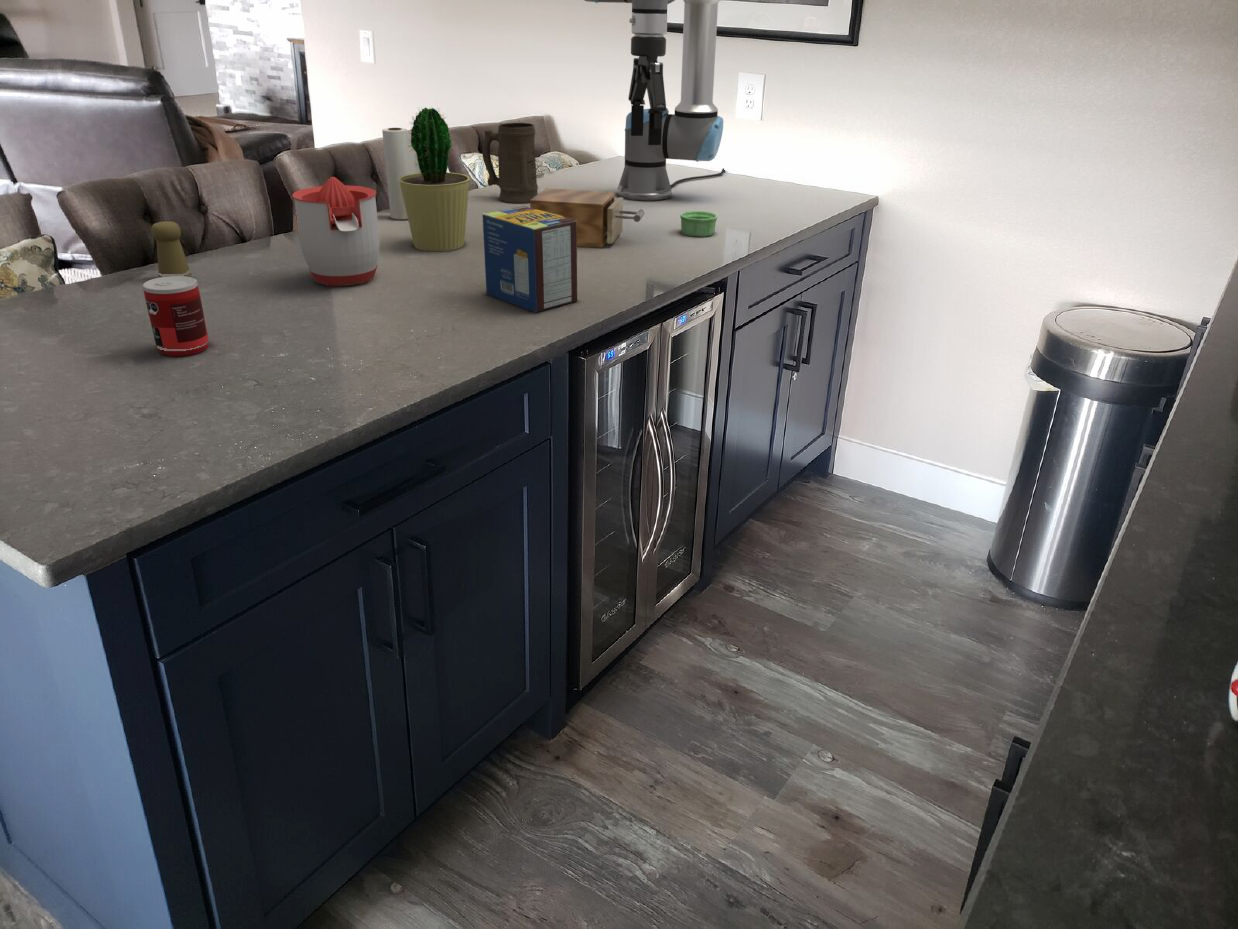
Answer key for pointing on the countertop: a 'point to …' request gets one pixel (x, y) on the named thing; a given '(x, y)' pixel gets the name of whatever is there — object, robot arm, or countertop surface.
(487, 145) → the beer stein
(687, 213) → the ramekin
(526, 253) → the protein box
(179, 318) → the canned food
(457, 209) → the potted cactus
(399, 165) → the paper towel roll
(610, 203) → the wooden drawer
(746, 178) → the countertop surface
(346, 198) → the citrus juicer
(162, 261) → the cork
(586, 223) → the cabinet
